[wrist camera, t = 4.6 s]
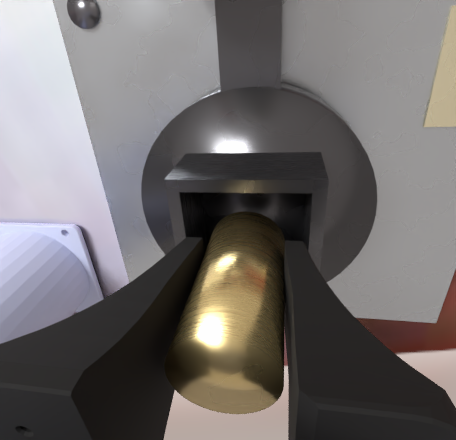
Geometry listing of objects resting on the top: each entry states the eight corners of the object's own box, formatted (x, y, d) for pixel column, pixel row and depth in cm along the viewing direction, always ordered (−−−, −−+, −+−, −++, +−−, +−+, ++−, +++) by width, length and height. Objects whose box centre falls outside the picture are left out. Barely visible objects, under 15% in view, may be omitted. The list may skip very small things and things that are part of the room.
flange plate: (140, 292, 24) (133, 304, 23) (60, -19, 15) (43, -23, 14) (429, 311, 21) (437, 325, 20) (559, -74, 12) (585, -84, 11)
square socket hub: (172, 269, 21) (141, 333, 16) (96, -144, 12) (-22, -254, 7) (351, 278, 19) (371, 353, 15) (430, -202, 10) (549, -398, 5)
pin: (218, 274, 14) (180, 410, 9) (205, 214, 13) (149, 335, 8) (288, 271, 14) (288, 417, 8) (281, 208, 12) (276, 336, 7)
